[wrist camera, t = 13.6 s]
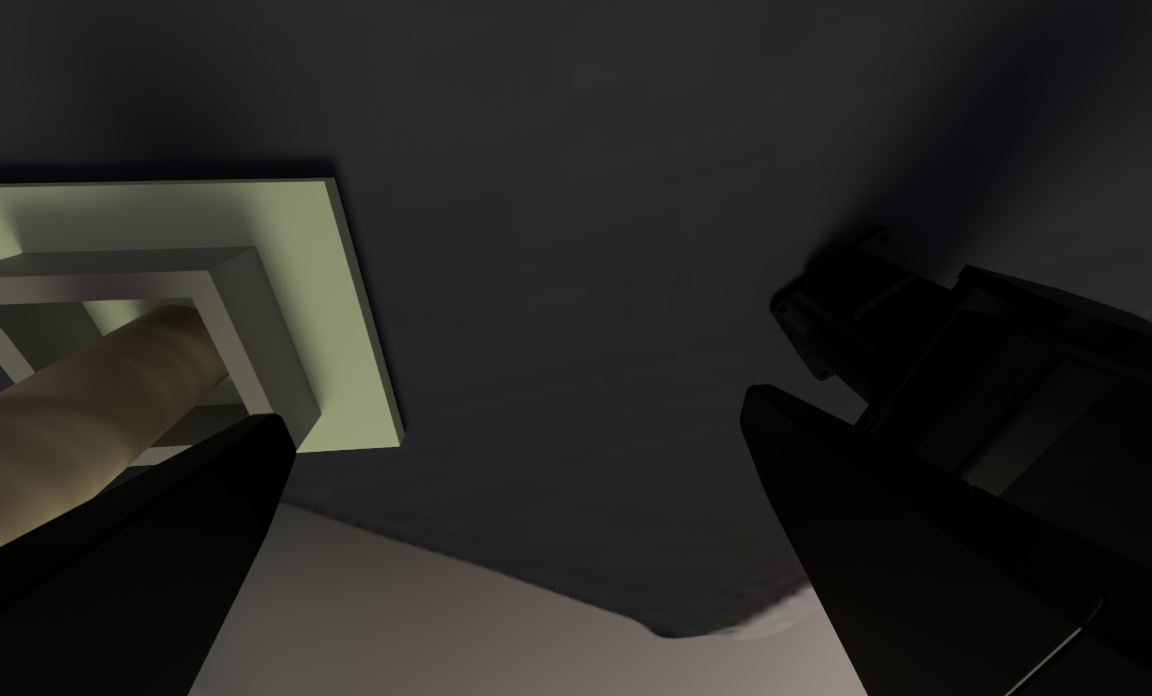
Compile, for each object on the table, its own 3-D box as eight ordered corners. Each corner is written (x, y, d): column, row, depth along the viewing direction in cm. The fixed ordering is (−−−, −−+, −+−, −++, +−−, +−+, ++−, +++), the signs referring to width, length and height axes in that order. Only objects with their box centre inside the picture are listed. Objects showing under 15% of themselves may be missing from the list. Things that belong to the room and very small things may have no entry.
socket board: (334, 177, 18) (285, 195, 14) (404, 434, 25) (383, 487, 21) (-91, 185, 16) (-258, 206, 13) (109, 452, 23) (36, 512, 20)
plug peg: (242, 321, 19) (-157, 622, 8) (238, 389, 21) (-96, 714, 10) (137, 292, 18) (-490, 593, 7) (142, 366, 20) (-356, 703, 9)
